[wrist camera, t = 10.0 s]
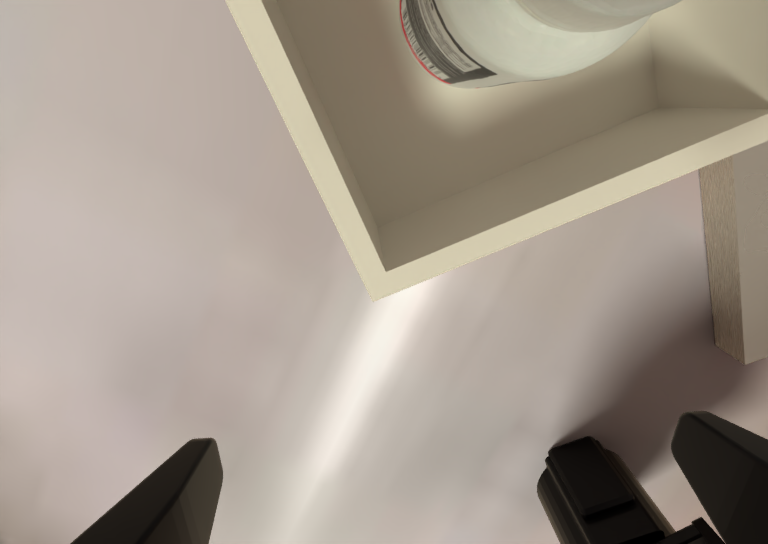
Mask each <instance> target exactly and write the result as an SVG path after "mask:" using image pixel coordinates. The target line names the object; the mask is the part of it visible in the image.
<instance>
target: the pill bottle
mask: <svg viewBox="0 0 768 544" xmlns="http://www.w3.org/2000/svg"><path fill="white" fill-rule="evenodd" d="M680 1H682V0H399V21H400V27H401V32H402V35H403V38H404V41H405V43H406V46H407V48H408V50H409V52H410V54H411V55H412V57H413V58H414V60H415V61H416V62H417V64H418V65H419V66H420V67H421V68H422V69H423V70H424V71H425V72H426V73H427V74H428V75H430V76H431V77H432V78H434V79H436V80H437V81H439V82H441V83H443V84H446V85H448V86H452V87H457V88H466V89H473V88H485V87H493V86H498V85H504V84H510V83H516V82H527V81H540V80H548V79H552V78H556V77H560V76H564V75H567V74H571V73H574V72H577V71H579V70H581V69H584V68H586V67H588V66H591V65H593V64H595V63H596V62H598V61H600V60H602V59H604V58H605V57H607V56H608V55H610V54H612V53H613V52H614V51H616V50H617V49H618V48H620V47H621V46H622V45H623V44H624V43H626V42H627V41H628V40H629V39H630V38H631V37H632V36H633V35H635V34H636V32H637V31H638V30H639V29H640V28H641V27H642V26H643V25H644V24H645V23H646V22H647V20H648V19H649V18H650V17H651V16H652V14H654V13H656V12H659V11H661V10H664V9H666V8H668V7H671V6H673V5H675V4H677V3H679V2H680Z"/></svg>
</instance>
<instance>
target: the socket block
mask: <svg viewBox="0 0 768 544" xmlns="http://www.w3.org/2000/svg"><path fill="white" fill-rule="evenodd" d="M699 174H700V184H701V195H702V206H703V217H704V227H705V238H706V249H707V260H708V271H709V281H710V292H711V303H712V314H713V324H714V335H715V345H716V346H717V347H719V348H720V349H722V350H723V351H725V352H726V353H728V354H729V355H731V356H732V357H734V358H735V359H737V360H738V361H740V362H741V363H743V364H744V365H747V364H750V363H752V362H755V361H758V360H761V359H763V358H766V357H768V141H766V142H763V143H761V144H758V145H756V146H753V147H751V148H748V149H746V150H744V151H741V152H739V153H736V154H734V155H731V156H729V157H726V158H724V159H721V160H719V161H717V162H714V163H712V164H709V165H707V166H704V167H702V168H699Z"/></svg>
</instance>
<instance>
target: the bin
mask: <svg viewBox="0 0 768 544" xmlns="http://www.w3.org/2000/svg"><path fill="white" fill-rule="evenodd" d="M225 1H226V3H227V5H228V7H229V9H230V12H231V14H232V16H233V18H234V20H235V22H236V24H237V26H238V28H239V30H240V32H241V34H242V36H243V38H244V40H245V42H246V44H247V46H248V48H249V50H250V52H251V54H252V56H253V58H254V60H255V63H256V65H257V67H258V69H259V71H260V73H261V75H262V77H263V79H264V81H265V83H266V85H267V87H268V89H269V91H270V93H271V95H272V97H273V99H274V101H275V103H276V105H277V107H278V109H279V111H280V114H281V116H282V118H283V120H284V122H285V124H286V126H287V128H288V130H289V132H290V134H291V136H292V138H293V140H294V142H295V144H296V146H297V148H298V150H299V152H300V154H301V156H302V158H303V160H304V162H305V165H306V167H307V169H308V171H309V173H310V175H311V177H312V179H313V181H314V183H315V185H316V187H317V189H318V191H319V193H320V195H321V197H322V199H323V201H324V203H325V205H326V207H327V209H328V211H329V213H330V216H331V218H332V220H333V222H334V224H335V226H336V228H337V230H338V232H339V234H340V236H341V238H342V240H343V242H344V244H345V246H346V248H347V250H348V252H349V254H350V256H351V258H352V260H353V262H354V264H355V267H356V269H357V271H358V273H359V275H360V277H361V279H362V281H363V283H364V285H365V287H366V289H367V291H368V293H369V295H370V297H371V299H372V301H373V302H374V301H377V300H379V299H381V298H384V297H386V296H389V295H391V294H394V293H396V292H399V291H401V290H403V289H406V288H408V287H411V286H413V285H416V284H418V283H421V282H423V281H425V280H428V279H430V278H433V277H435V276H438V275H440V274H443V273H445V272H447V271H450V270H452V269H455V268H457V267H460V266H462V265H465V264H467V263H470V262H472V261H474V260H477V259H479V258H482V257H484V256H487V255H489V254H492V253H494V252H496V251H499V250H501V249H504V248H506V247H509V246H511V245H514V244H516V243H518V242H521V241H523V240H526V239H528V238H531V237H533V236H536V235H538V234H540V233H543V232H545V231H548V230H550V229H553V228H555V227H558V226H560V225H562V224H565V223H567V222H570V221H572V220H575V219H577V218H580V217H582V216H584V215H587V214H589V213H592V212H594V211H597V210H599V209H602V208H604V207H607V206H609V205H611V204H614V203H616V202H619V201H621V200H624V199H626V198H629V197H631V196H633V195H636V194H638V193H641V192H643V191H646V190H648V189H651V188H653V187H655V186H658V185H660V184H663V183H665V182H668V181H670V180H673V179H675V178H677V177H680V176H682V175H685V174H687V173H690V172H692V171H695V170H697V169H699V168H702V167H704V166H707V165H709V164H712V163H714V162H717V161H719V160H721V159H724V158H726V157H729V156H731V155H734V154H736V153H739V152H741V151H744V150H746V149H748V148H751V147H753V146H756V145H758V144H761V143H763V142H766V141H768V0H682V1H680V2H679V3H677V4H675V5H673V6H671V7H668V8H666V9H664V10H661V11H659V12H656V13H654V14H652V16H651V17H650V18H649V19H648V20H647V22H646V23H645V24H644V25H643V26H642V27H641V28H640V29H639V30H638V31H637V32H636V34H635V35H633V36H632V37H631V38H630V39H629V40H628V41H627V42H626V43H624V44H623V45H622V46H621V47H620V48H618V49H617V50H616V51H614V52H613V53H612V54H610V55H608V56H607V57H605V58H604V59H602V60H600V61H598V62H596V63H595V64H593V65H591V66H588V67H586V68H584V69H581V70H579V71H577V72H574V73H571V74H567V75H564V76H560V77H556V78H552V79H548V80H540V81H527V82H516V83H510V84H504V85H498V86H493V87H485V88H473V89H466V88H457V87H452V86H448V85H446V84H443V83H441V82H439V81H437V80H436V79H434V78H432V77H431V76H430V75H428V74H427V73H426V72H425V71H424V70H423V69H422V68H421V67H420V66H419V65H418V64H417V62H416V61H415V60H414V58H413V57H412V55H411V54H410V52H409V50H408V48H407V46H406V43H405V41H404V38H403V35H402V32H401V27H400V21H399V0H225Z"/></svg>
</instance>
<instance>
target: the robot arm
mask: <svg viewBox="0 0 768 544" xmlns="http://www.w3.org/2000/svg"><path fill="white" fill-rule="evenodd" d="M671 450H672V453H673V456H674V458H675V460H676V462H677V463H678V465H679V467H680V468H681V470H682V472H683V473H684V475H685V477H686V478H687V480H688V482H689V484H690V485H691V487H692V489H693V490H694V492H695V494H696V495H697V497H698V499H699V501H700V502H701V504H702V506H703V507H704V509H705V511H706V512H707V514H708V516H709V517H710V519H711V521H712V523H713V524H714V526H715V527H716V529H717V531H718V532H719V534H720V536H721V537H722V539H723V540H724V542H725V543H726V544H768V440H767V439H765V438H763V437H761V436H759V435H757V434H754V433H752V432H750V431H748V430H746V429H744V428H742V427H739V426H737V425H735V424H733V423H731V422H729V421H727V420H724V419H722V418H720V417H718V416H716V415H714V414H712V413H709V412H706V411H694V412H685V413H683V414H682V415H681V416H680V418H679V421H678V424H677V427H676V430H675V433H674V436H673V439H672V442H671ZM548 454H549V457H547V458H546V459H545V462H546V465H547V468H546V469H545V471H544V472H543V473H542V475H541V477H540V479H539V481H538V485H537V493H538V497H539V499H540V501H541V503H542V505H543V508H544V510H545V512H546V514H547V516H548V518H549V520H550V523H551V525H552V527H553V529H554V531H555V533H556V535H557V538H558V540H559V542H560V544H725V543H724V542H723V540H722V539H721V538H720V537H719V536H718V535H717V534H716V533H715V532H714V530H713V529H712V528H711V527H710V526H709V525H708V524H707V523H706V521H705V520H704V519H703V518H702V517H700V518H698V519H696V520H694V521H692V524H691V525H689V526H687V527H685V528H683V529H681V530H679V531H677V532H676V531H675V530H674V529H673V527H672V526H671V525H670V523H669V522H668V521H667V519H666V518H665V517H664V515H663V514H662V513H661V511H660V510H659V509H658V507H657V506H656V505H655V503H654V502H653V501H652V499H651V498H650V497H649V495H648V494H647V493H646V491H645V490H644V489H643V487H642V486H641V485H640V483H639V482H638V481H637V479H636V478H635V477H634V475H633V474H632V473H631V471H630V470H629V469H628V467H627V466H626V465H625V463H624V462H623V461H622V459H621V458H620V457H619V456H618V455H617V454H615V453H614V452H611V451H609V450H606V449H604V448H603V447H602V446H601V444H600V443H599V441H597V440H595V439H594V438H593V437H590V436H588V437H585V438H582V439H579V440H576V441H573V442H571V443H568V444H565V445H562V446H559V447H557V448H554V449H551V450H550V451H549V452H548ZM222 482H223V469H222V464H221V460H220V455H219V451H218V447H217V443H216V441H215V439H213V438H198V439H192V440H190V441H188V442H187V443H186V444H185V445H184V446H182V447H181V448H180V449H179V450H178V451H177V452H175V453H174V454H173V455H172V456H171V457H170V458H169V459H167V460H166V461H165V462H164V463H163V464H162V465H160V466H159V467H158V468H157V469H156V470H155V471H154V472H152V473H151V474H150V475H149V476H148V477H147V478H145V479H144V480H143V481H142V482H141V483H140V484H139V485H137V486H136V487H135V488H134V489H133V490H132V491H130V492H129V493H128V494H127V495H126V496H125V497H124V498H122V499H121V500H120V501H119V502H118V503H117V504H115V505H114V506H113V507H112V508H111V509H110V510H109V511H107V512H106V513H105V514H104V515H103V516H102V517H100V518H99V519H98V520H97V521H96V522H95V523H94V524H92V525H91V526H90V527H89V528H88V529H87V530H85V531H84V532H83V533H82V534H81V535H80V536H79V537H77V538H76V539H75V540H74V541H73V542H72V543H70V544H209V539H210V535H211V530H212V526H213V522H214V517H215V513H216V509H217V504H218V500H219V496H220V491H221V487H222Z"/></svg>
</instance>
